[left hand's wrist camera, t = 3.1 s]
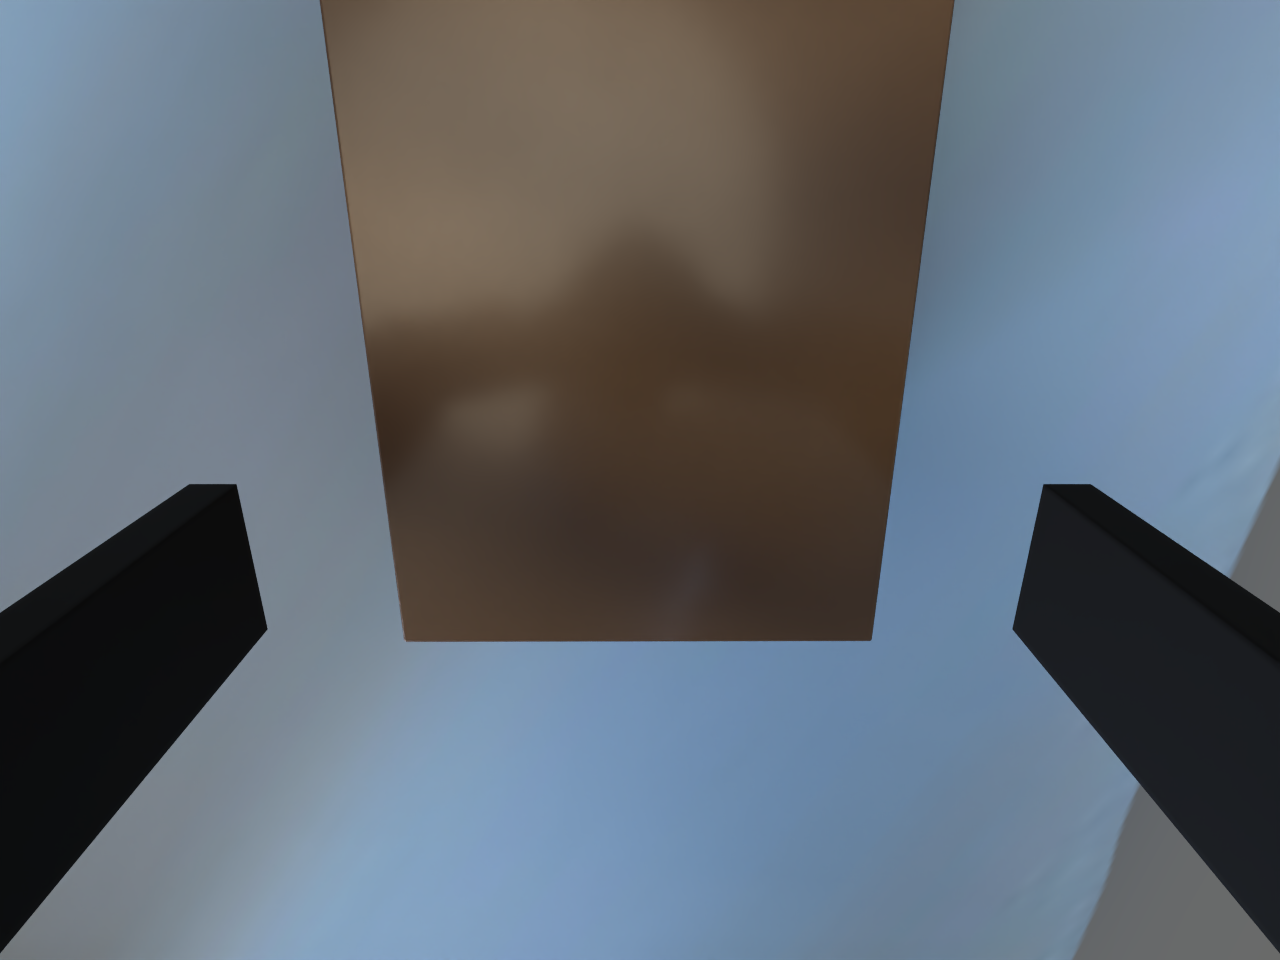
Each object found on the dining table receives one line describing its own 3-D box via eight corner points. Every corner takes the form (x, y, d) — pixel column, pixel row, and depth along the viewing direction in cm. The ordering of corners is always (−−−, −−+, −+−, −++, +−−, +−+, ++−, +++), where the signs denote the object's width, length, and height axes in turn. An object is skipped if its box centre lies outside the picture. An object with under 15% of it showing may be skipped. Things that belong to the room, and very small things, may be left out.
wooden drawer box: (434, -278, 20) (214, -782, 9) (839, -277, 20) (1056, -778, 9) (491, 471, 27) (403, 642, 17) (784, 471, 27) (871, 641, 17)
